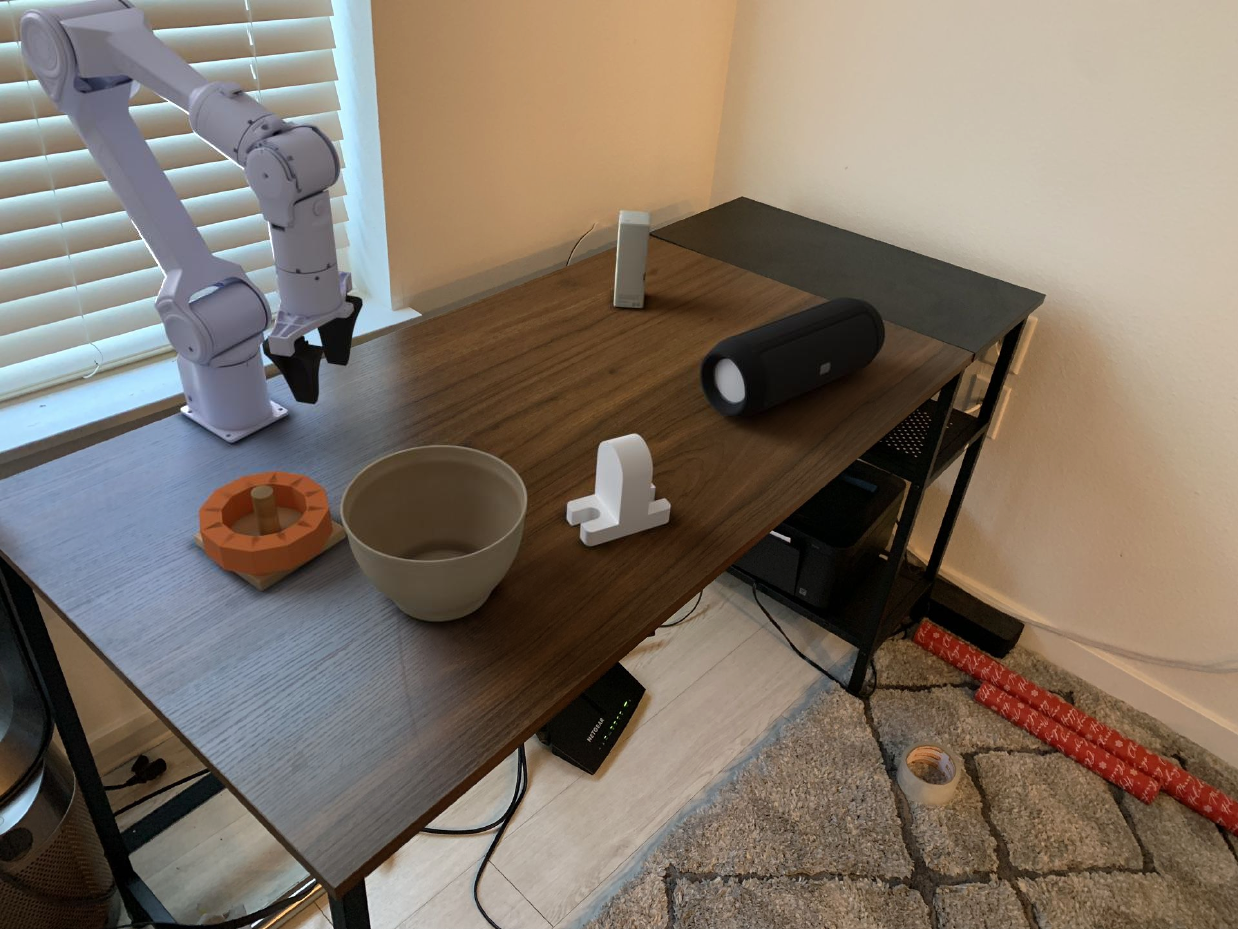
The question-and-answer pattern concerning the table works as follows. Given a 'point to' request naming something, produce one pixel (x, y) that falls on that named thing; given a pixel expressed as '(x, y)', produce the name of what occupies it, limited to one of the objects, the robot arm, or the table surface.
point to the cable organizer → (619, 494)
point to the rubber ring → (267, 549)
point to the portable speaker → (791, 356)
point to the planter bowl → (435, 527)
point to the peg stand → (271, 530)
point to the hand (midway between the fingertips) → (322, 381)
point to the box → (631, 258)
